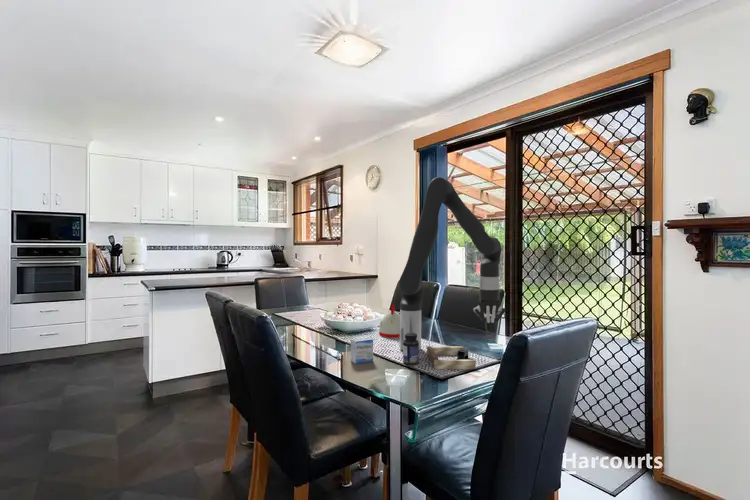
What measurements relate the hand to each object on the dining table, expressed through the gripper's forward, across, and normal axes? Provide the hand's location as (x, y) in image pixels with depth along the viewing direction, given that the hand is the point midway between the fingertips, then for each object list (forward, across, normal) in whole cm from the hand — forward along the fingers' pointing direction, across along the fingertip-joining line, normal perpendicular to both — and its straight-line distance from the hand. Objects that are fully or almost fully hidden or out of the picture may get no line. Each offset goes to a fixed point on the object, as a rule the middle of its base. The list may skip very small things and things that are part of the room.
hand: (489, 331), depth 149 cm
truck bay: (+11, +16, 0) cm, 20 cm away
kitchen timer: (+11, +35, -43) cm, 57 cm away
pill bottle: (+11, +31, +2) cm, 33 cm away
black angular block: (+12, +10, 0) cm, 16 cm away
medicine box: (+11, +50, 0) cm, 52 cm away
